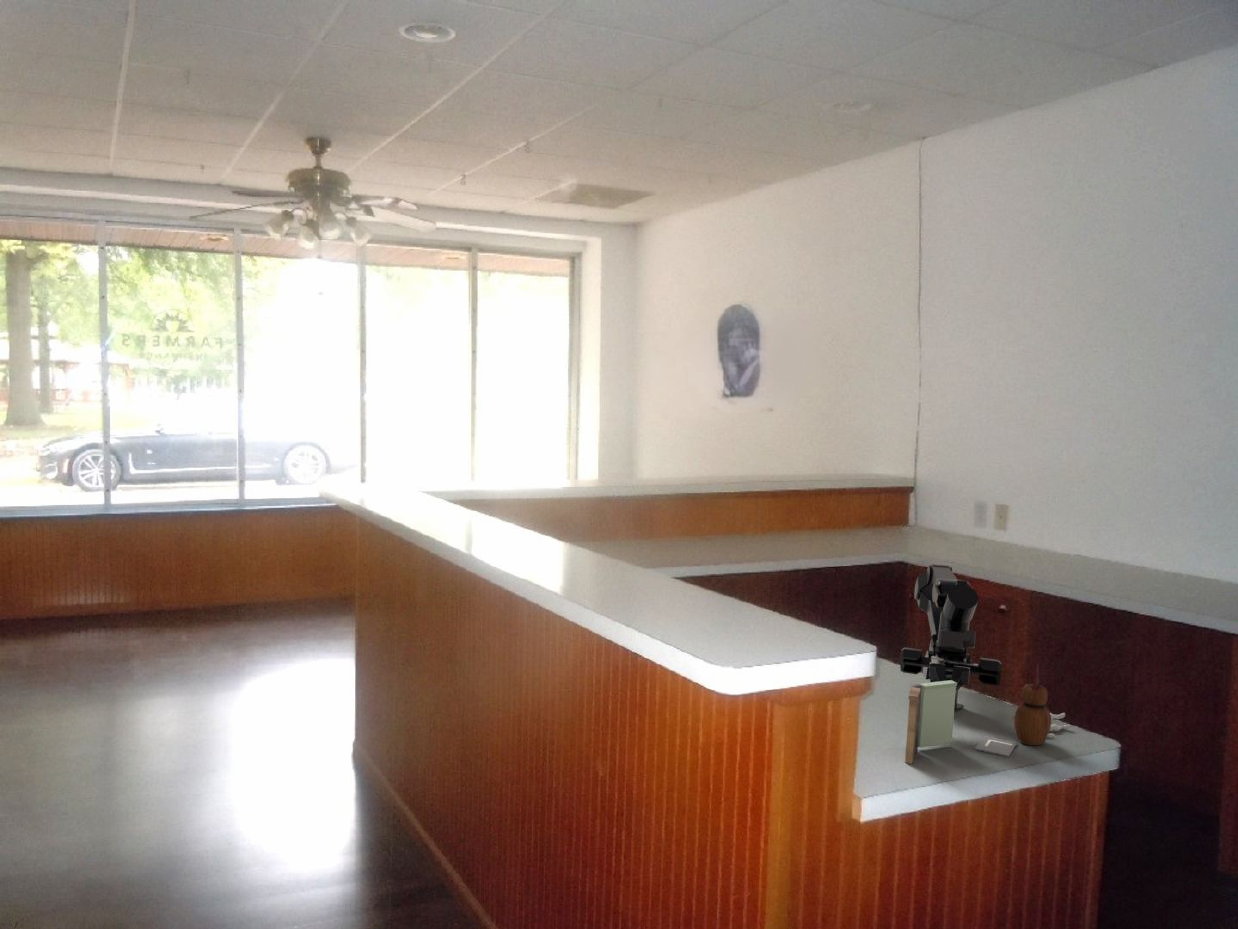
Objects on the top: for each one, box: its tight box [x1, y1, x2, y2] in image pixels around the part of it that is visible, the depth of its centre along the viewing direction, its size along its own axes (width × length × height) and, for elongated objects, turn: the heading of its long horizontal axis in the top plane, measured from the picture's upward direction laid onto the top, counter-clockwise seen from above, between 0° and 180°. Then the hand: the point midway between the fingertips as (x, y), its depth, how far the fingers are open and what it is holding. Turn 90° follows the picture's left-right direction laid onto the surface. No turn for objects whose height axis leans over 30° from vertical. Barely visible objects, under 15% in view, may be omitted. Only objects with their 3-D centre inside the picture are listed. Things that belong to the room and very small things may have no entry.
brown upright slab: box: [904, 682, 922, 765], centre depth 182 cm, size 8×2×12 cm, turn 159°
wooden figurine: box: [1013, 663, 1052, 746], centre depth 192 cm, size 7×6×15 cm
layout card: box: [974, 735, 1018, 758], centre depth 189 cm, size 8×6×1 cm
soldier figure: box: [1012, 712, 1071, 739], centre depth 198 cm, size 8×5×12 cm
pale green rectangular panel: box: [918, 680, 957, 749], centre depth 187 cm, size 8×2×12 cm, turn 114°
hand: (945, 705), depth 192 cm, fingers closed
